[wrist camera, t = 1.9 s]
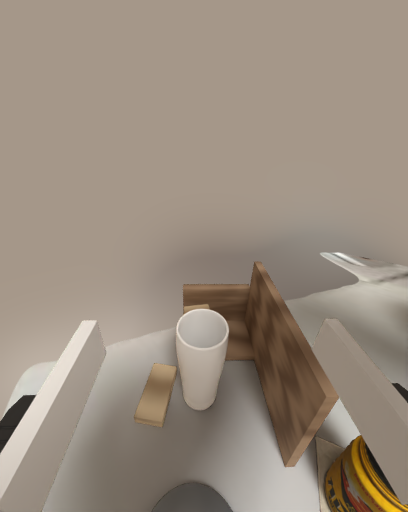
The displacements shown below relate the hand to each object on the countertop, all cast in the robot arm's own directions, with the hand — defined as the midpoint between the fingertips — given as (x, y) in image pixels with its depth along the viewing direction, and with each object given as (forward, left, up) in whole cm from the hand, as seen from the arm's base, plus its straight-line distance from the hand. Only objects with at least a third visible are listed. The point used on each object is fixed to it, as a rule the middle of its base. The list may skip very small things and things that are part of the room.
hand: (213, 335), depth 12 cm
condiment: (-13, -12, -25) cm, 31 cm away
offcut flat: (+12, -1, -25) cm, 28 cm away
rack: (+7, -12, -25) cm, 29 cm away
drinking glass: (+7, -6, -25) cm, 27 cm away
